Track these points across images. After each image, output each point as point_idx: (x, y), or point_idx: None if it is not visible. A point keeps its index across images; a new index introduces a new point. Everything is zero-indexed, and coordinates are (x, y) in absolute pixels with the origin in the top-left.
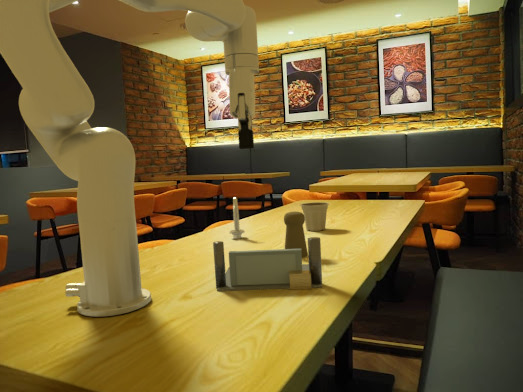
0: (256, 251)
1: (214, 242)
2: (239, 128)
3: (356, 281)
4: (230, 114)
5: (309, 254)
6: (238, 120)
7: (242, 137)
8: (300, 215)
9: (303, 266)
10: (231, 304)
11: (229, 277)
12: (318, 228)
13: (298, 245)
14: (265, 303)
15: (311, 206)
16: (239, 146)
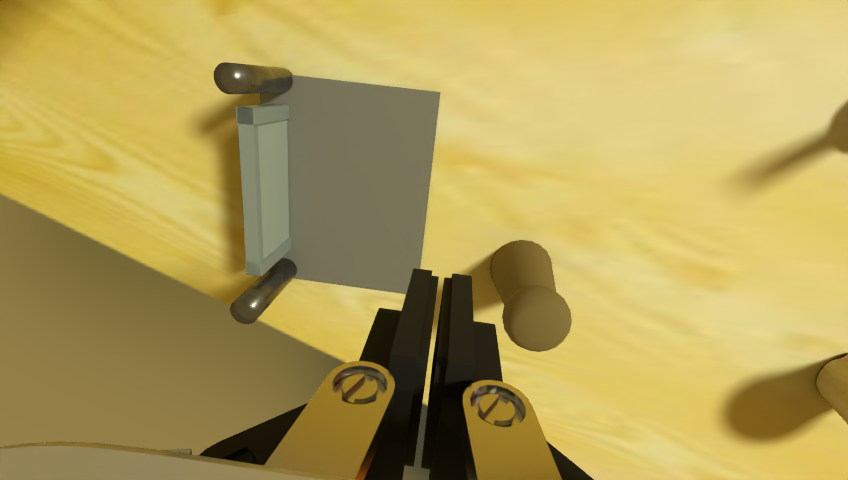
0: (243, 178)
1: (228, 66)
2: (329, 384)
3: (297, 331)
4: (41, 444)
5: (252, 284)
6: (264, 465)
7: (367, 342)
8: (512, 339)
9: (402, 267)
10: (183, 107)
11: (344, 97)
12: (821, 383)
13: (496, 285)
14: (190, 169)
15: None
16: (413, 275)
